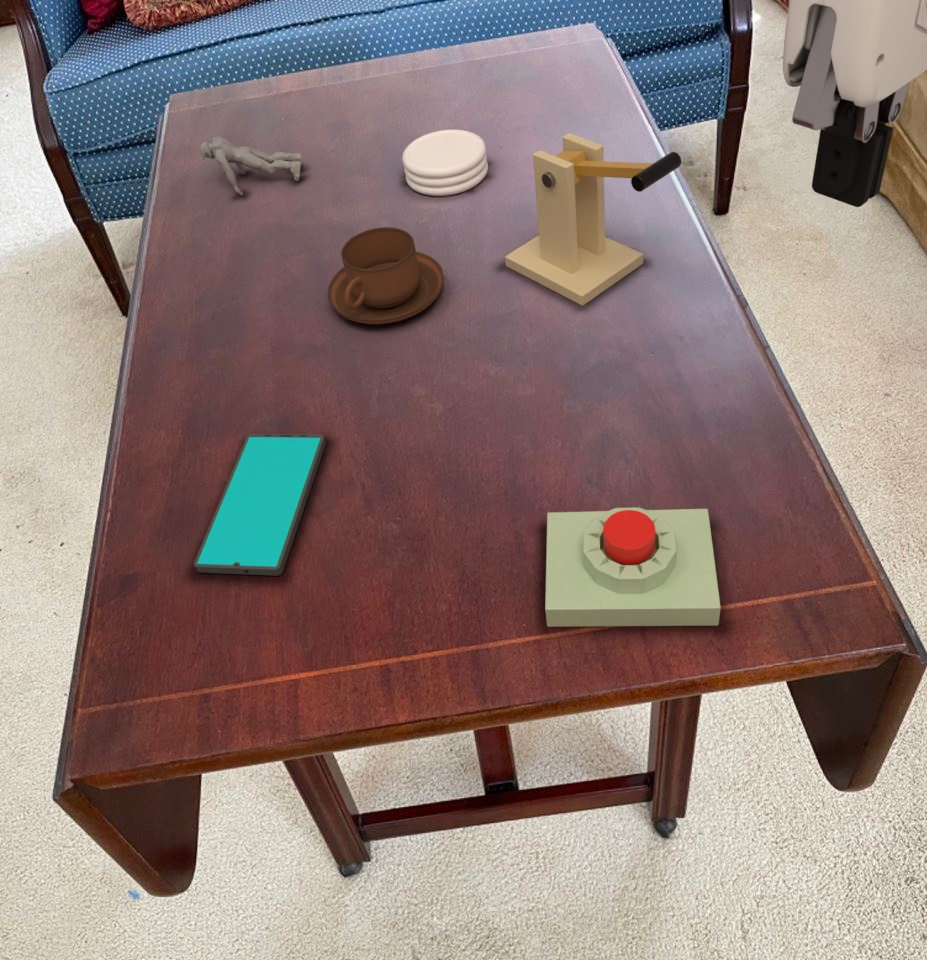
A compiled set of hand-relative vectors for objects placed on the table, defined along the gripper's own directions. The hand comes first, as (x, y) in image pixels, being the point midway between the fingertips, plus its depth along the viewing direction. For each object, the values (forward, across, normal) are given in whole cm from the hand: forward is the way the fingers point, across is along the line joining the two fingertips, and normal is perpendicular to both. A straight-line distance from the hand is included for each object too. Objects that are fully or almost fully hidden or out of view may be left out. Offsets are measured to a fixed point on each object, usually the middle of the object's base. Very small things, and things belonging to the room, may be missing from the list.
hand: (844, 192), depth 52 cm
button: (+24, -13, +5) cm, 27 cm away
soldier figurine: (+27, +2, +78) cm, 83 cm away
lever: (+16, +14, +30) cm, 36 cm away
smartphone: (+27, -28, +32) cm, 50 cm away
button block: (+27, -13, +4) cm, 30 cm away
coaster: (+27, +18, +60) cm, 68 cm away
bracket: (+27, +14, +35) cm, 46 cm away
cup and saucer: (+27, -2, +46) cm, 54 cm away
